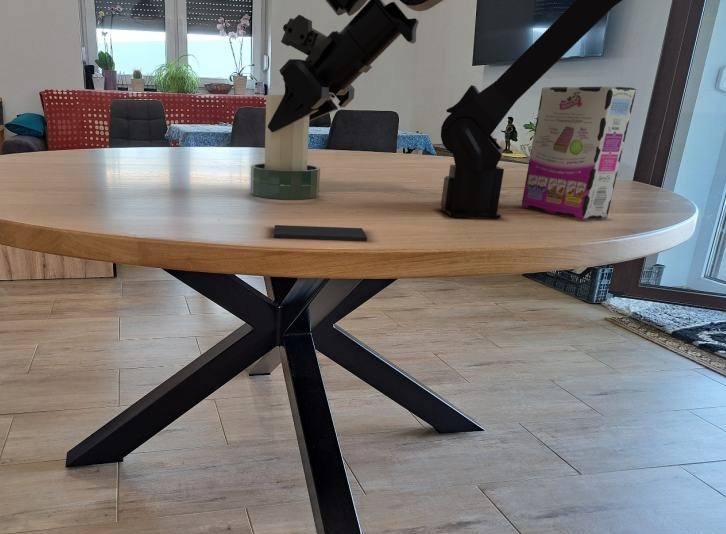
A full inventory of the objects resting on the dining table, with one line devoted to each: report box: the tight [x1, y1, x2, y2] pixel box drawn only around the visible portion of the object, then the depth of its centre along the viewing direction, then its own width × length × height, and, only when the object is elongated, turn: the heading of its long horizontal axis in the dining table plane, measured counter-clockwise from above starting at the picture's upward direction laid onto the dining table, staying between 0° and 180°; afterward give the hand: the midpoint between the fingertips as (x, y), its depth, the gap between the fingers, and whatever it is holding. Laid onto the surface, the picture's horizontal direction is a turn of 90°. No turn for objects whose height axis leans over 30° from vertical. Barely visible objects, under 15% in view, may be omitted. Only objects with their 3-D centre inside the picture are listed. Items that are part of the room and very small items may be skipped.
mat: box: [273, 224, 368, 242], centre depth 71 cm, size 10×5×1 cm, turn 88°
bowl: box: [249, 162, 321, 201], centre depth 93 cm, size 10×10×4 cm
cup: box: [264, 94, 310, 171], centre depth 91 cm, size 6×6×11 cm
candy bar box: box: [520, 86, 637, 221], centre depth 86 cm, size 11×5×16 cm, turn 25°
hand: (277, 128), depth 91 cm, fingers closed on cup, 6 cm apart
